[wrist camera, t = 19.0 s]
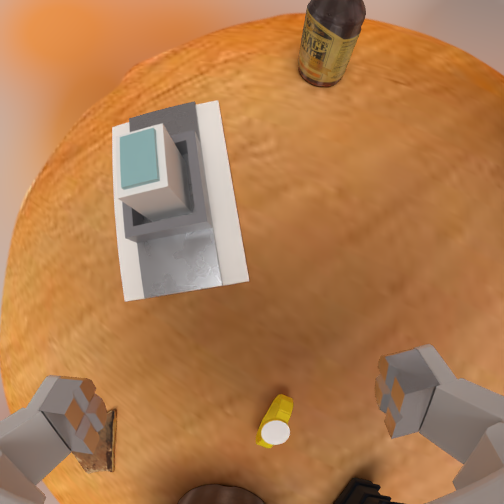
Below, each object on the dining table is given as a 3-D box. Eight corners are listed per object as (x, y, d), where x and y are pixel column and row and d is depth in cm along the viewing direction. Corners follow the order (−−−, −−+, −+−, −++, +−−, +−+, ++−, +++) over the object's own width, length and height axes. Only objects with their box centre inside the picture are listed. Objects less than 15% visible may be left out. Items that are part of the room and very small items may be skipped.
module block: (185, 162, 34) (160, 119, 25) (192, 213, 34) (166, 183, 24) (147, 170, 34) (113, 133, 25) (152, 221, 34) (114, 196, 24)
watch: (273, 385, 33) (277, 399, 27) (296, 395, 33) (304, 410, 27) (249, 429, 32) (248, 450, 26) (271, 439, 32) (274, 460, 26)
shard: (119, 406, 33) (113, 410, 32) (153, 455, 32) (148, 462, 31) (65, 429, 33) (58, 433, 31) (96, 474, 32) (90, 479, 30)
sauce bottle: (290, 60, 38) (300, -59, 18) (330, 53, 38) (357, -58, 18) (308, 95, 37) (333, -28, 17) (351, 87, 37) (395, -27, 17)
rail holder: (219, 104, 37) (213, 81, 32) (249, 281, 34) (247, 279, 29) (115, 130, 37) (99, 112, 32) (128, 301, 34) (108, 302, 29)
